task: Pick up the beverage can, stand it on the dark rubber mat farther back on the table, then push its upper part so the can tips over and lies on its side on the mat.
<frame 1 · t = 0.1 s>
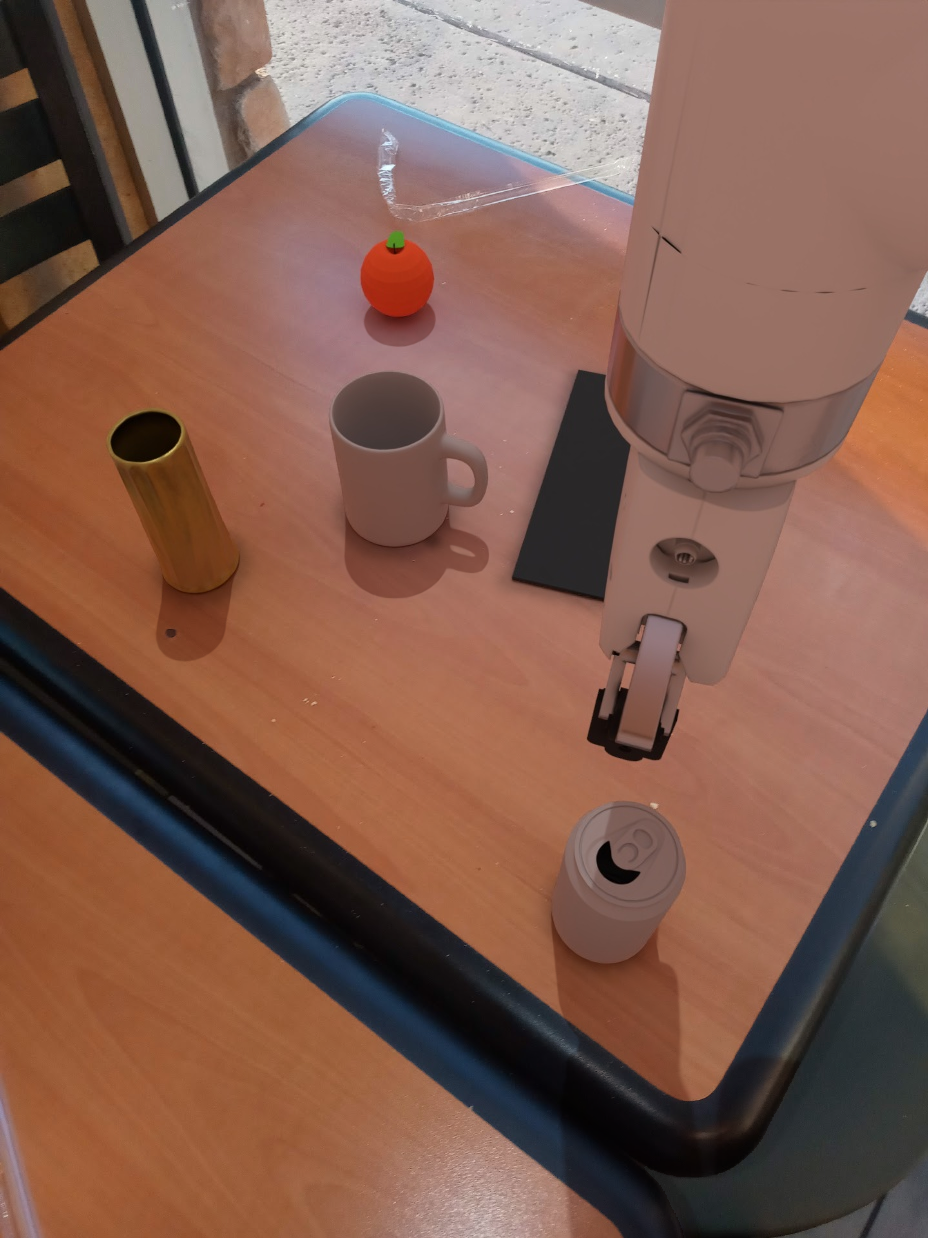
hand: (645, 652, 41), 22 cm above the table, tool pointing down, fingers open, 9 cm apart
mug: (417, 513, 75), on the table
vase: (201, 563, 72), on the table
mat: (641, 487, 76), on the table
clementine: (400, 306, 89), on the table
beverage can: (601, 914, 57), on the table
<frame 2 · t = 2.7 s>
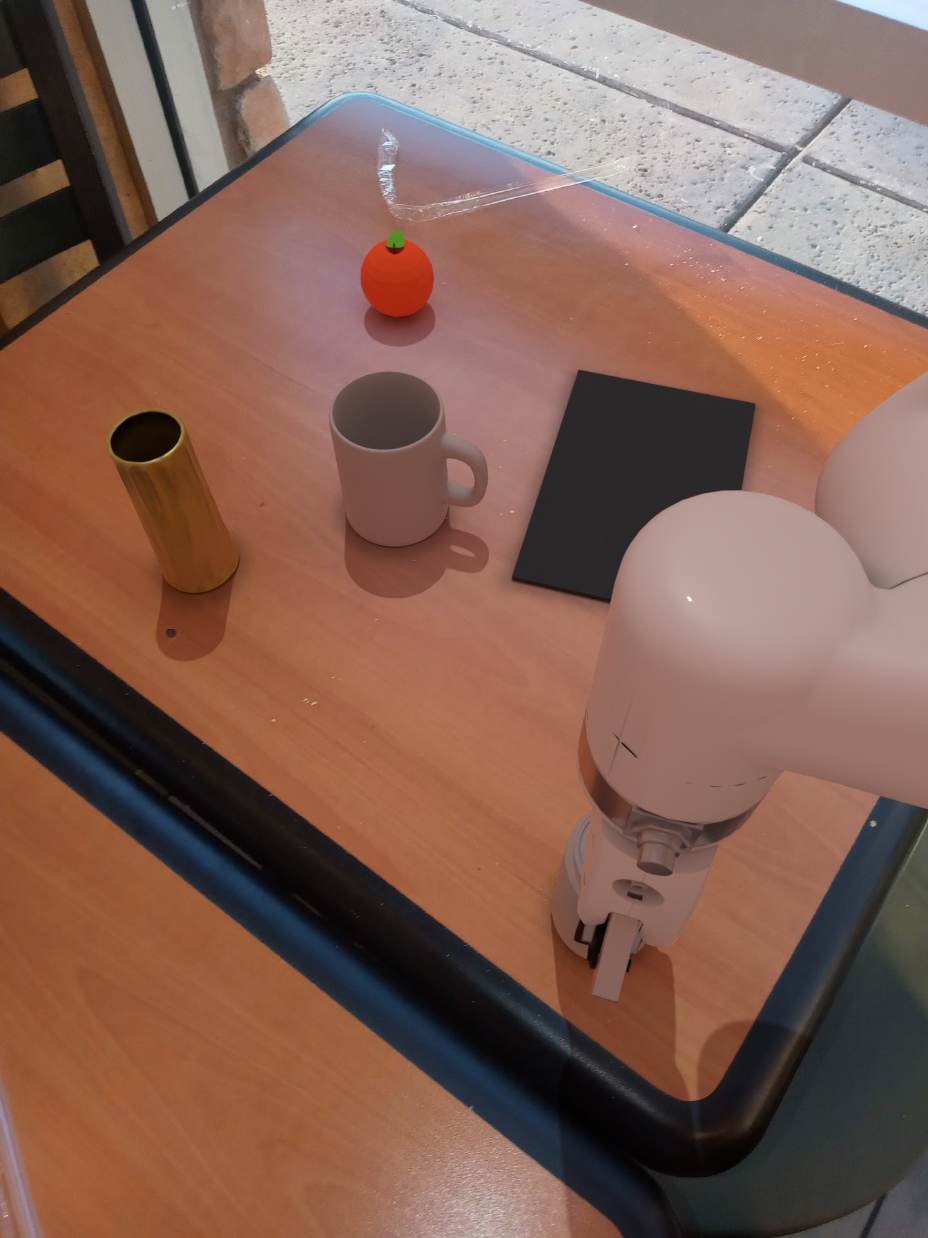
hand: (615, 880, 51), 7 cm above the table, tool pointing down, fingers closed on beverage can, 6 cm apart
beverage can: (601, 913, 57), on the table, touching gripper
everything else where it was.
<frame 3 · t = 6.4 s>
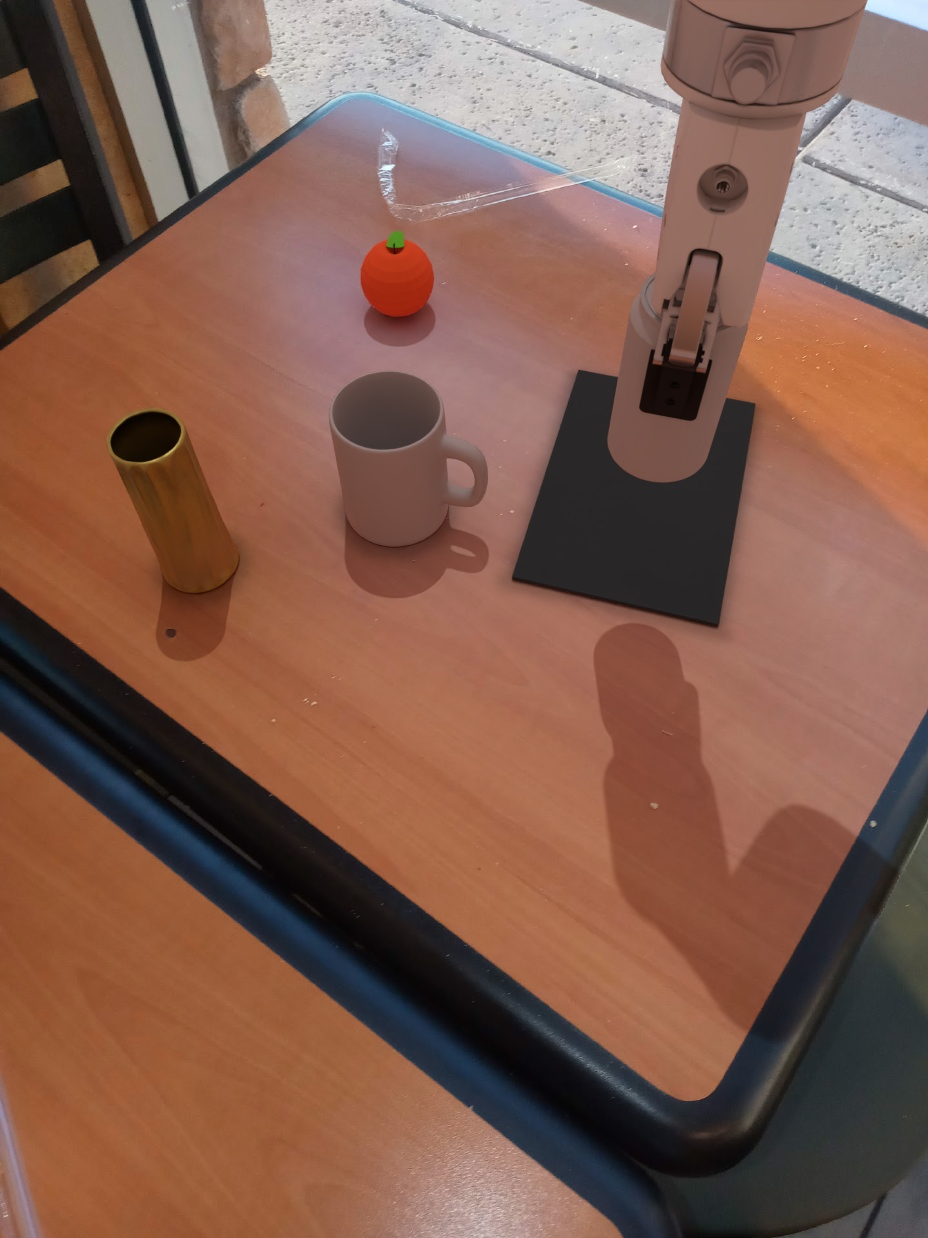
hand: (677, 367, 52), 22 cm above the table, tool pointing down, fingers closed on beverage can, 6 cm apart
beverage can: (655, 454, 58), point 14 cm above the table, touching gripper
everything else where it was.
when the fingers open (7 cm above the table, at t = 10.4 s): beverage can stays where it is, resting on mat.
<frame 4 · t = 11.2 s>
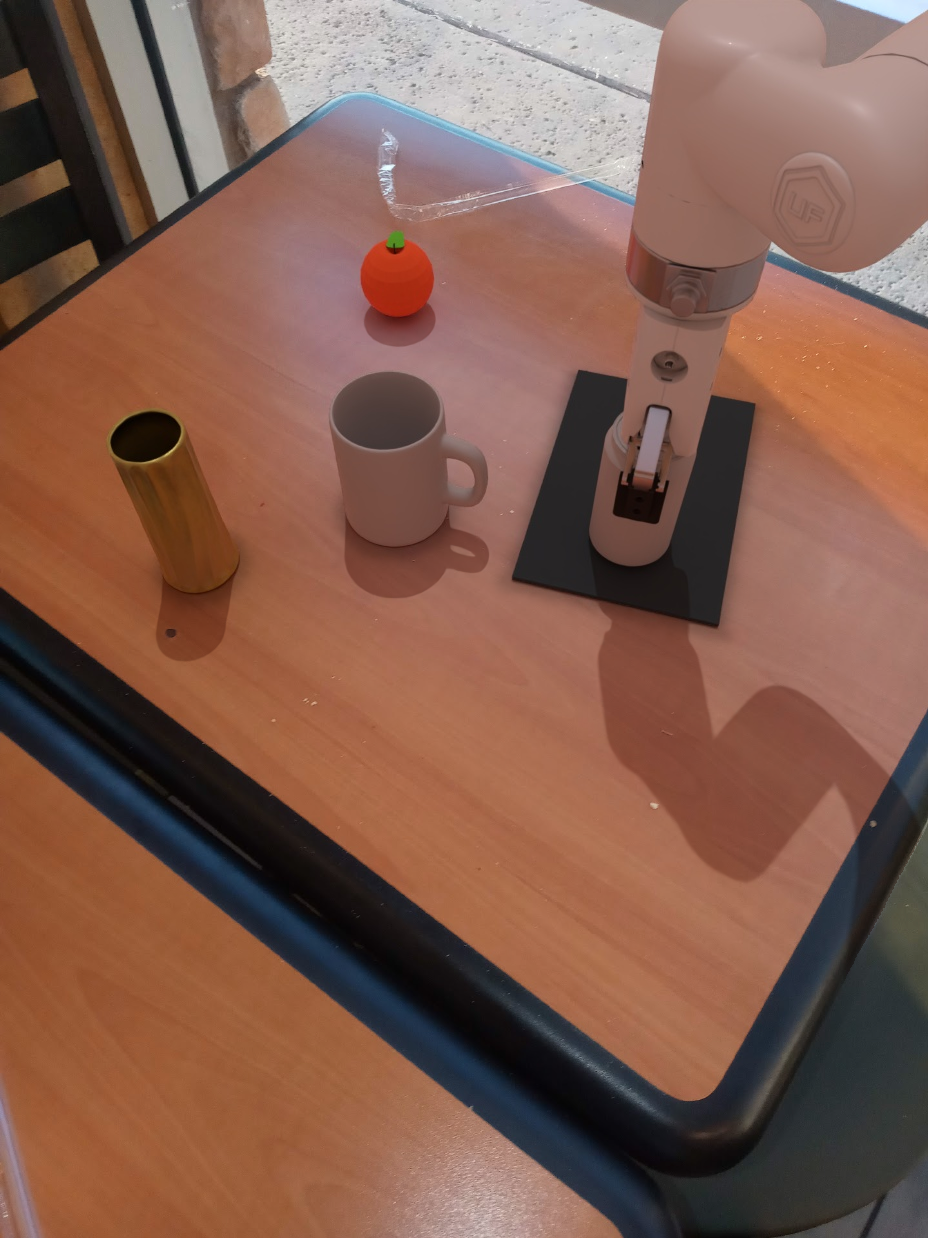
hand: (648, 465, 65), 9 cm above the table, tool pointing down, fingers open, 9 cm apart
beverage can: (628, 540, 72), resting on mat
everything else where it was.
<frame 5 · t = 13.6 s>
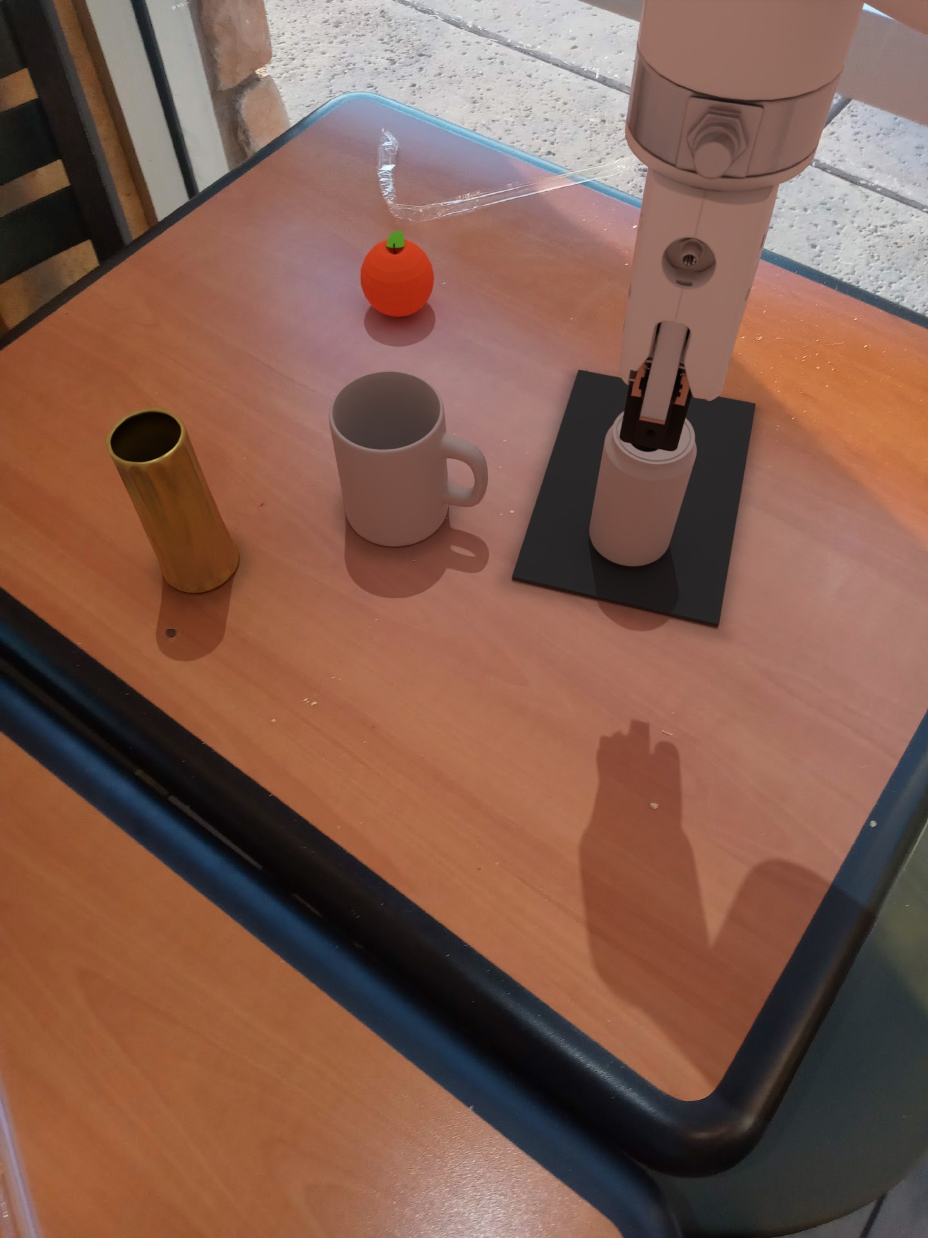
hand: (649, 435, 50), 21 cm above the table, tool pointing down, fingers closed
nothing on the table moved.
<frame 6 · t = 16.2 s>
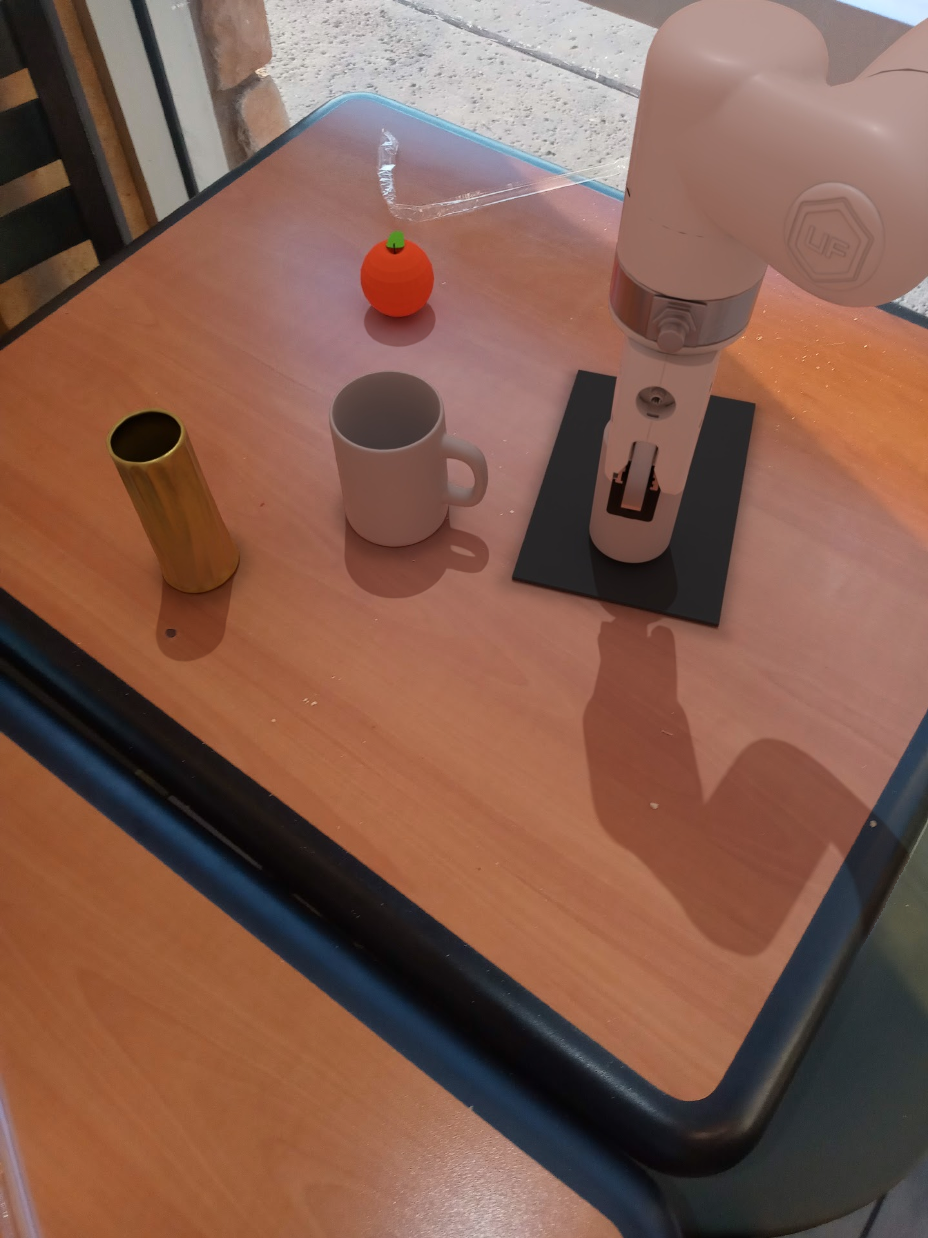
hand: (630, 508, 62), 9 cm above the table, tool pointing down, fingers closed
beverage can: (628, 539, 72), resting on mat, touching gripper
everything else where it was.
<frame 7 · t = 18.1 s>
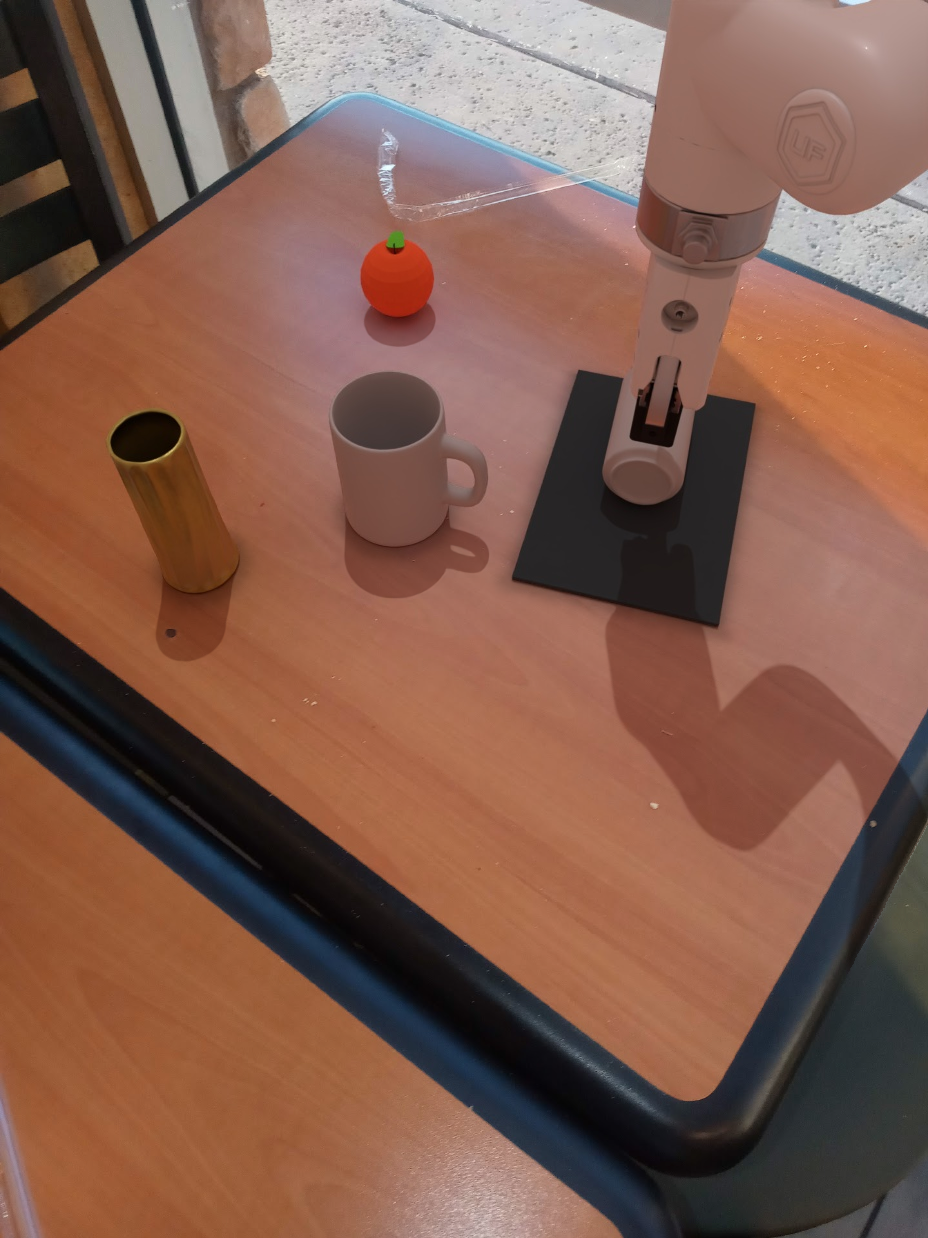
hand: (652, 435, 66), 9 cm above the table, tool pointing down, fingers closed
beverage can: (640, 485, 71), point 4 cm above the table, touching mat
everything else where it was.
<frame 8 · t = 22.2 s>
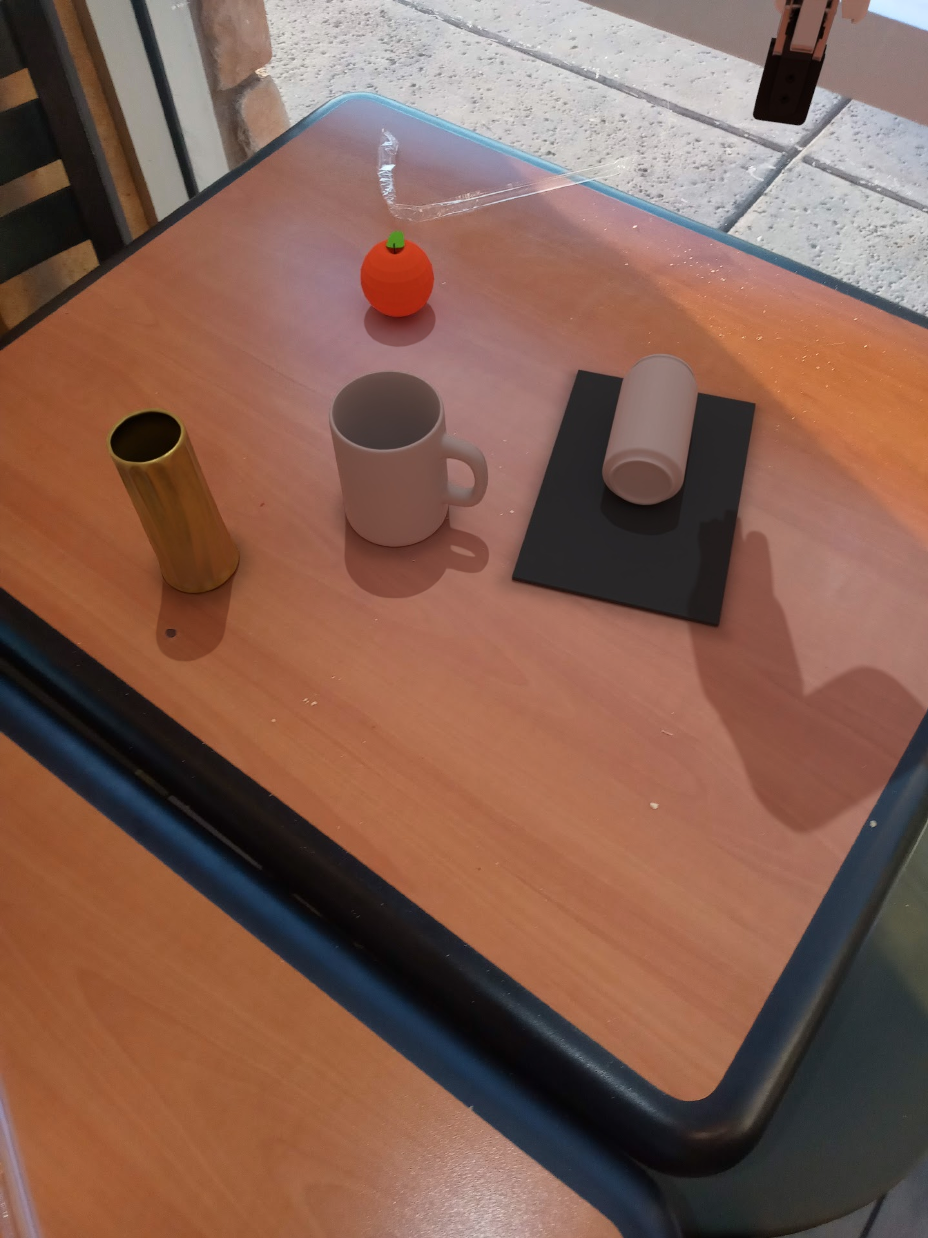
hand: (778, 115, 56), 27 cm above the table, tool pointing down, fingers closed
nothing on the table moved.
at the end: beverage can tilted 90°; beverage can inside the target area on the mat (3.0 cm from its centre), point 3.6 cm above the mat's base; the gripper is holding nothing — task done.
